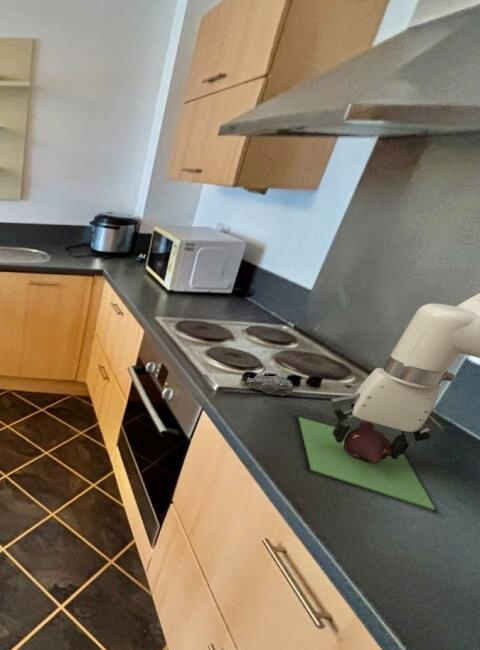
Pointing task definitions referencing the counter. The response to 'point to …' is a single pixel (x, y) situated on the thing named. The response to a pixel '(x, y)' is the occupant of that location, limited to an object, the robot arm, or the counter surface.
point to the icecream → (367, 443)
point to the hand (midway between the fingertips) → (363, 446)
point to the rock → (271, 384)
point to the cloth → (361, 466)
